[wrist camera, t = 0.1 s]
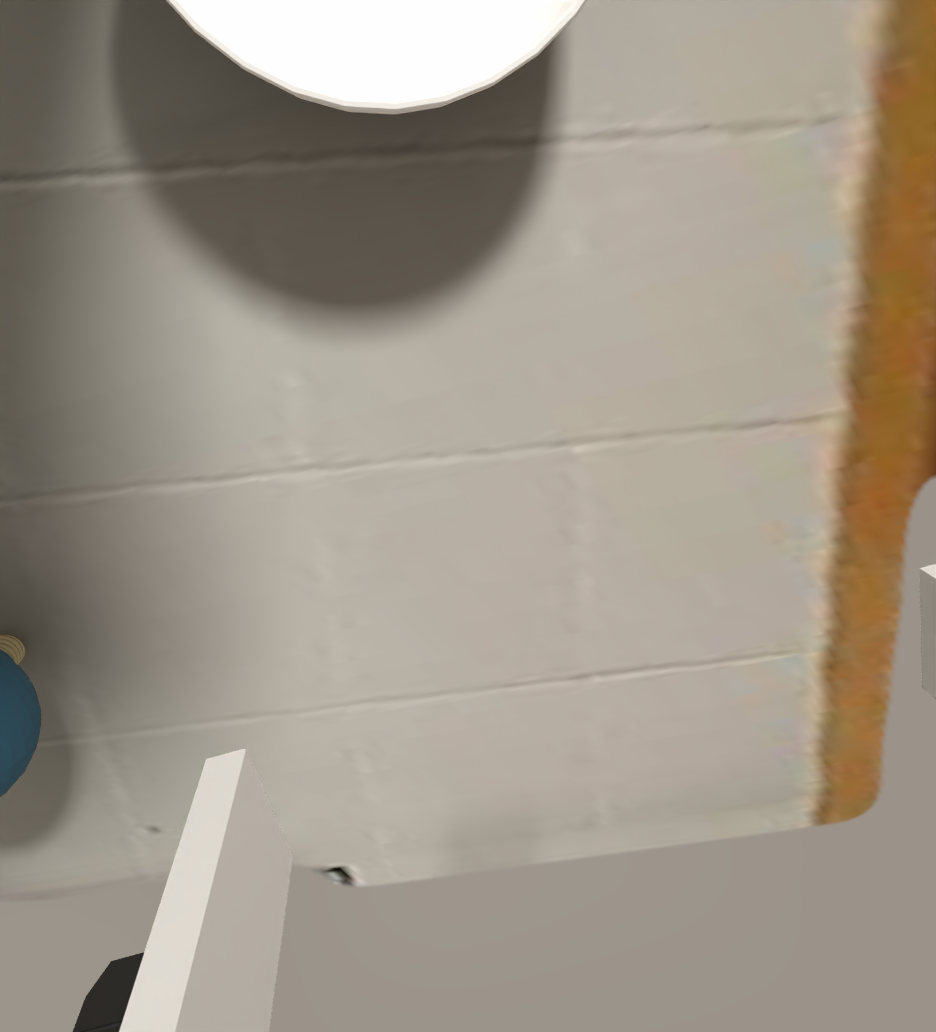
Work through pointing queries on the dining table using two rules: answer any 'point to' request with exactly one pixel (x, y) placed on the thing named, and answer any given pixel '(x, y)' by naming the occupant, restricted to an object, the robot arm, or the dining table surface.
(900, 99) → the dining table surface
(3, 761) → the light bulb
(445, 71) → the bowl
